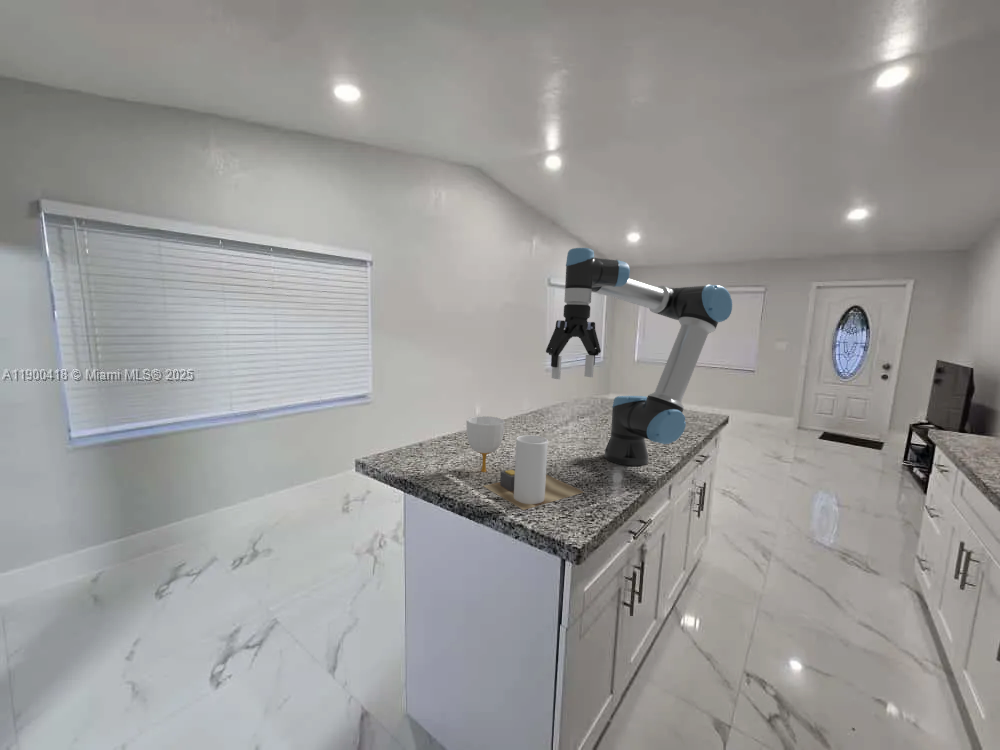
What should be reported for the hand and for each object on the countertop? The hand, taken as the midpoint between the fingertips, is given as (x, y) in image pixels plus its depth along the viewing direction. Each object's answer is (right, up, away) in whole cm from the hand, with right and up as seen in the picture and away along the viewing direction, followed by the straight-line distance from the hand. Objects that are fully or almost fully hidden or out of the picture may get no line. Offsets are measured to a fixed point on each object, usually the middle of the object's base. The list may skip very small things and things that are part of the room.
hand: (572, 377), depth 124 cm
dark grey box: (-18, -31, -4) cm, 36 cm away
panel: (-12, -32, -5) cm, 35 cm away
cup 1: (-26, -30, +8) cm, 41 cm away
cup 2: (-14, -32, -11) cm, 37 cm away
